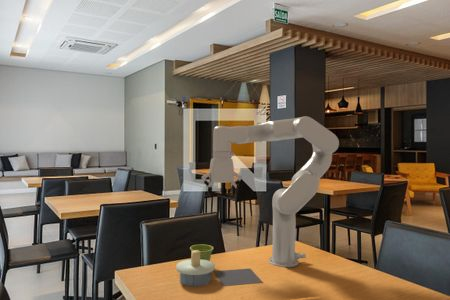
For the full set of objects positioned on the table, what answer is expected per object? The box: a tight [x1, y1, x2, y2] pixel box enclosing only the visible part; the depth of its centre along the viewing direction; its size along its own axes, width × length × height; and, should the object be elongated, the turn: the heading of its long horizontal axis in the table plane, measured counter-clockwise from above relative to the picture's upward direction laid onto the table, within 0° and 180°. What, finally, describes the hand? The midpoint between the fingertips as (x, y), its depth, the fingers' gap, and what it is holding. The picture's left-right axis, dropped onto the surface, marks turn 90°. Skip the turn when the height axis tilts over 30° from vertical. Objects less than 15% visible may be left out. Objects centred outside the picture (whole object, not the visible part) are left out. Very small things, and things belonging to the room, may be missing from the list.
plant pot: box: [189, 243, 214, 261], centre depth 143 cm, size 9×9×9 cm
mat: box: [213, 268, 264, 287], centre depth 134 cm, size 15×15×1 cm
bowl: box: [179, 272, 212, 287], centre depth 130 cm, size 11×11×5 cm
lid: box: [175, 250, 216, 275], centre depth 130 cm, size 14×14×6 cm
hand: (221, 196), depth 151 cm, fingers open, 9 cm apart
